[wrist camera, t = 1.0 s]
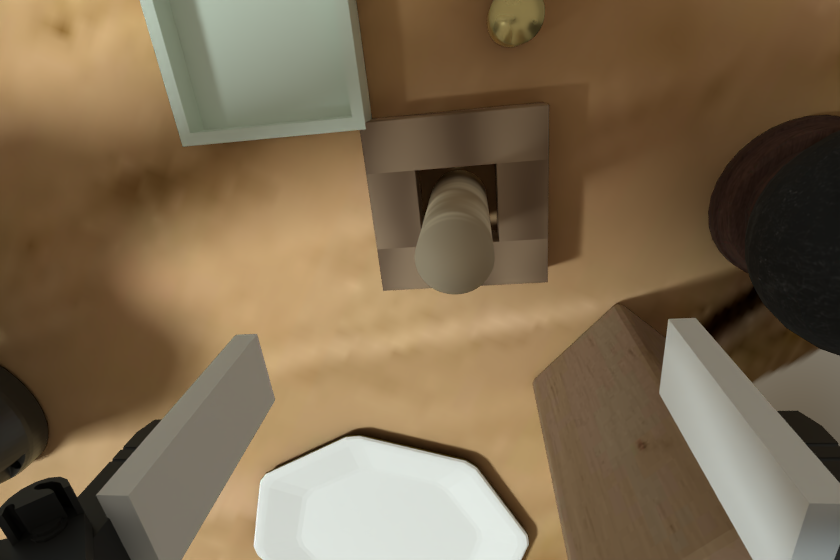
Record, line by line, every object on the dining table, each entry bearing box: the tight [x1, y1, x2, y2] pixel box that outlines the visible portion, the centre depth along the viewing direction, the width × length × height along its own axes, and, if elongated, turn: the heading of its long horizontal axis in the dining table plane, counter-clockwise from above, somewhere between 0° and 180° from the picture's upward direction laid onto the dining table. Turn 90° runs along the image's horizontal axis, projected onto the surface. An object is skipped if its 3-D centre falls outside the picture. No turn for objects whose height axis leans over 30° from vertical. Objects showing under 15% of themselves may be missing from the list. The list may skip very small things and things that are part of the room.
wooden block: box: [533, 304, 753, 560], centre depth 31 cm, size 10×10×20 cm
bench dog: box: [487, 0, 545, 47], centre depth 28 cm, size 3×3×4 cm
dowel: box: [415, 170, 495, 294], centre depth 29 cm, size 4×4×12 cm
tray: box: [140, 0, 372, 147], centre depth 30 cm, size 13×13×2 cm
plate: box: [254, 435, 529, 560], centre depth 50 cm, size 28×28×2 cm
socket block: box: [360, 102, 549, 291], centre depth 34 cm, size 12×12×2 cm
